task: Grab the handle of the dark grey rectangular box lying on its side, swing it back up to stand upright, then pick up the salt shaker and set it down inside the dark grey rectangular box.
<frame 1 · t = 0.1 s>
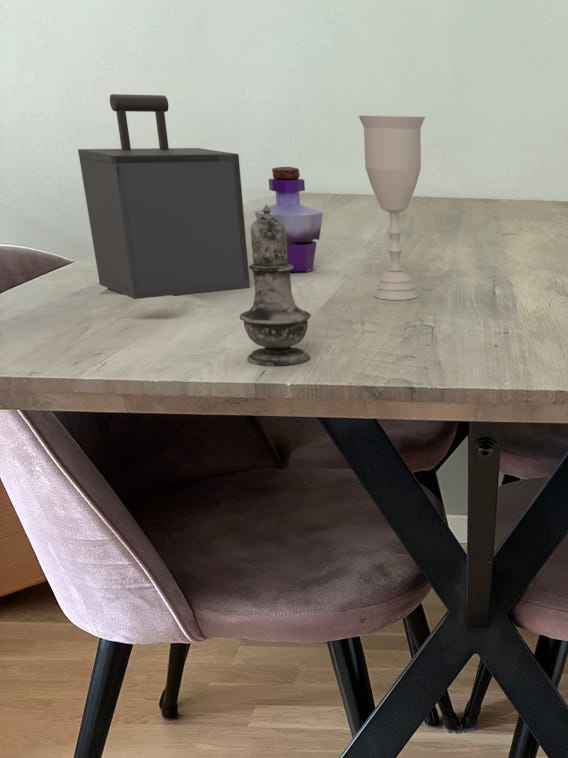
dark grey rectangular box: (164, 195, 106), point 10 cm above the table, hinge at 89.0°
salt shaker: (279, 360, 82), on the table
potion bottle: (292, 271, 124), on the table
chalice: (396, 297, 109), on the table
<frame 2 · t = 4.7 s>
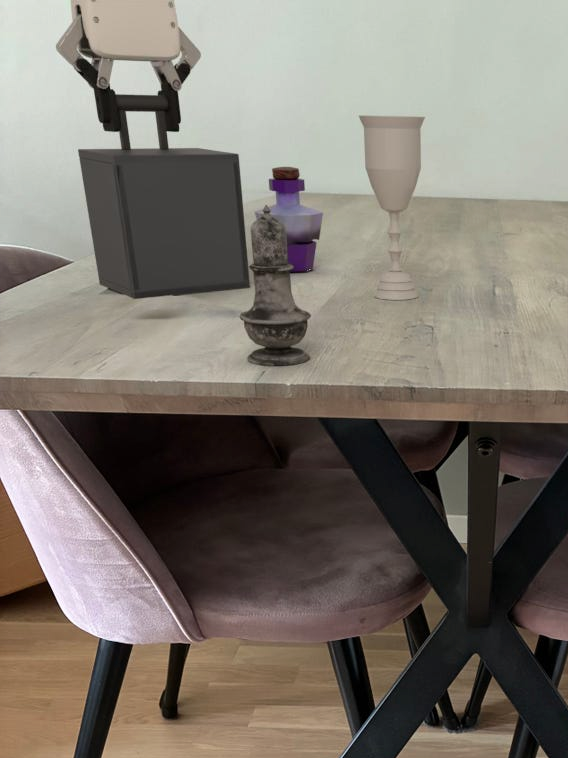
hand: (141, 129, 106), 16 cm above the table, tool pointing down, fingers closed on dark grey rectangular box, 6 cm apart
dark grey rectangular box: (164, 195, 106), point 10 cm above the table, hinge at 89.0°, touching gripper
everything else where it was.
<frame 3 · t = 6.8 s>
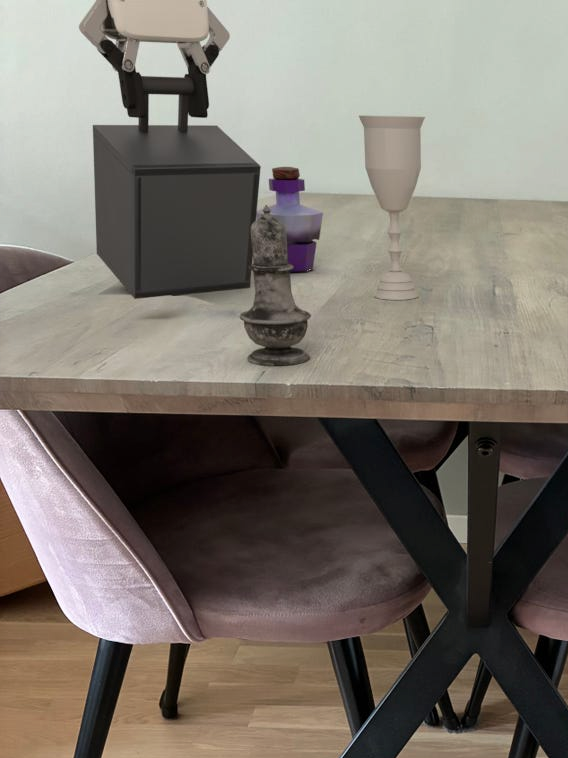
hand: (168, 115, 100), 18 cm above the table, tool pointing down, fingers closed on dark grey rectangular box, 6 cm apart
dark grey rectangular box: (176, 187, 103), point 11 cm above the table, hinge at 68.9°, touching gripper
everything else where it was.
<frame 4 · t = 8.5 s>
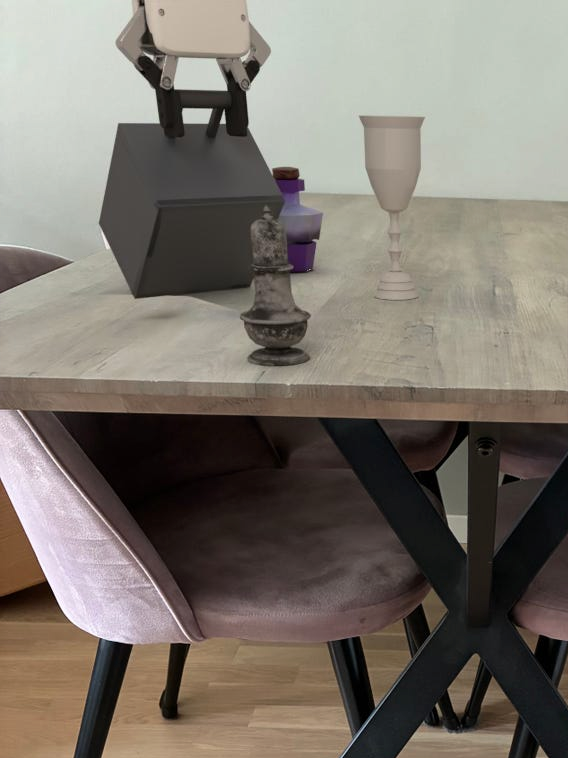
hand: (206, 134, 95), 16 cm above the table, tool pointing down, fingers closed on dark grey rectangular box, 6 cm apart
dark grey rectangular box: (195, 194, 101), point 10 cm above the table, hinge at 45.7°, touching gripper
everything else where it was.
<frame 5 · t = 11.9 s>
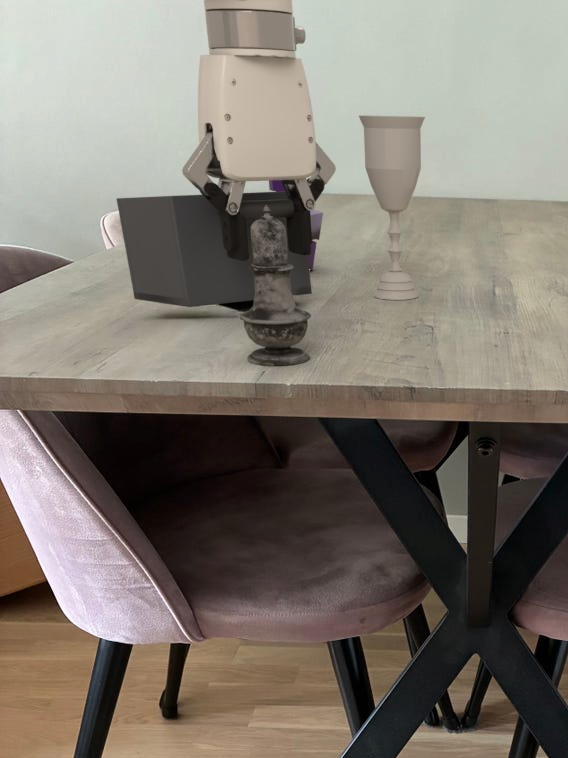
hand: (269, 254, 93), 6 cm above the table, tool pointing down, fingers closed on dark grey rectangular box, 6 cm apart
dark grey rectangular box: (226, 247, 99), point 6 cm above the table, hinge at 5.1°, touching gripper
everything else where it was.
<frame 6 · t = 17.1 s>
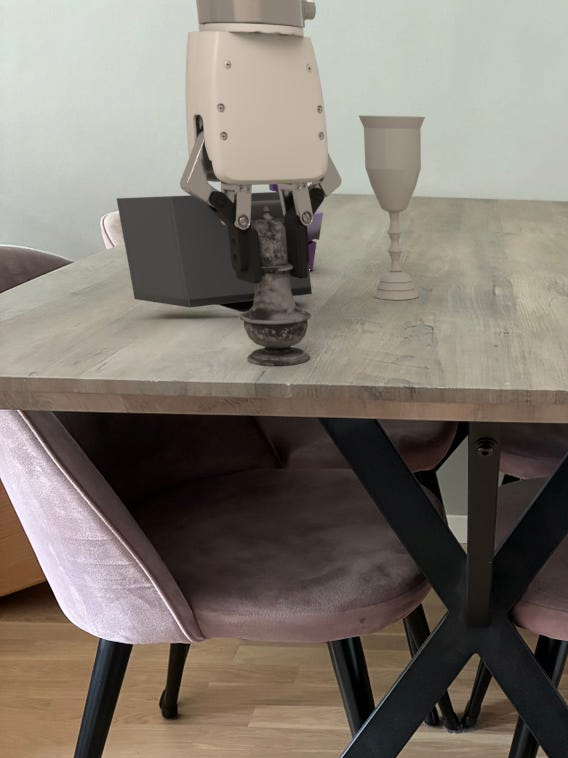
hand: (272, 276, 78), 7 cm above the table, tool pointing down, fingers closed on salt shaker, 3 cm apart
dark grey rectangular box: (226, 247, 99), point 6 cm above the table, hinge at 4.9°
salt shaker: (279, 360, 82), on the table, touching gripper
everything else where it was.
when the fingers open (8 cm above the table, at t = 25.2 s): salt shaker stays where it is, resting on dark grey rectangular box.
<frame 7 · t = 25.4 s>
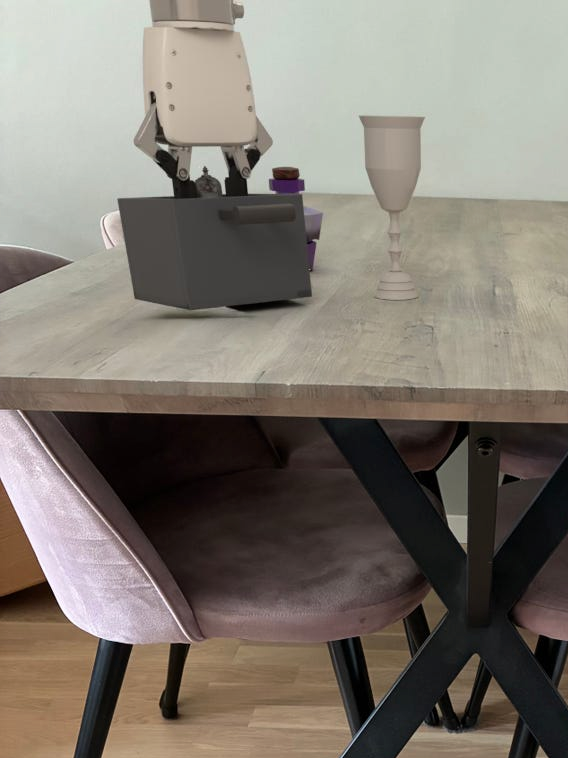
hand: (214, 219, 99), 8 cm above the table, tool pointing down, fingers open, 4 cm apart
dark grey rectangular box: (227, 249, 99), point 6 cm above the table, hinge at 3.8°, touching salt shaker
salt shaker: (221, 292, 103), point 1 cm above the table, touching dark grey rectangular box
everything else where it was.
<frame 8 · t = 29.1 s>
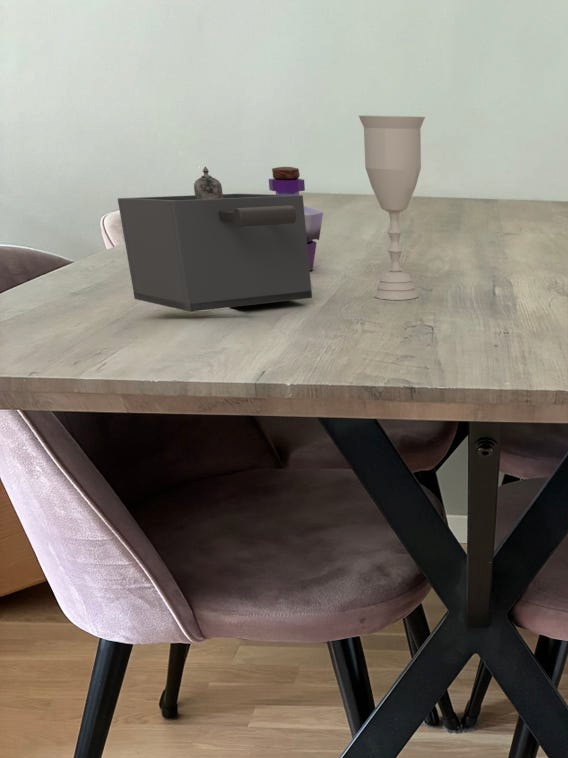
dark grey rectangular box: (227, 250, 99), point 6 cm above the table, hinge at 3.3°, touching salt shaker
everything else where it was.
at the end: dark grey rectangular box at +3° (first picture: +89°); salt shaker inside the target area on the dark grey rectangular box (0.1 cm from its centre), point 0.6 cm above the dark grey rectangular box's base; salt shaker tilted 3° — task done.
